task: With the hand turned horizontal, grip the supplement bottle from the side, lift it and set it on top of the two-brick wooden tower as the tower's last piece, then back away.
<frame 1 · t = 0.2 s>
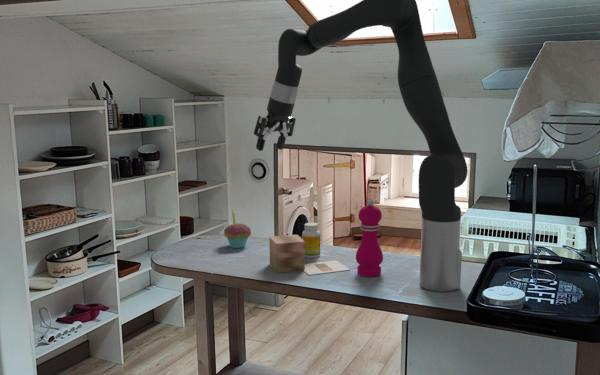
hand: (269, 149, 169), 31 cm above the counter, tool tilted 20°, fingers open, 8 cm apart
instruction page: (323, 267, 153), on the counter
tower: (287, 267, 154), on the counter
pepper mill: (369, 274, 148), on the counter
supplement bottle: (311, 256, 165), on the counter
cupcake: (237, 246, 176), on the counter
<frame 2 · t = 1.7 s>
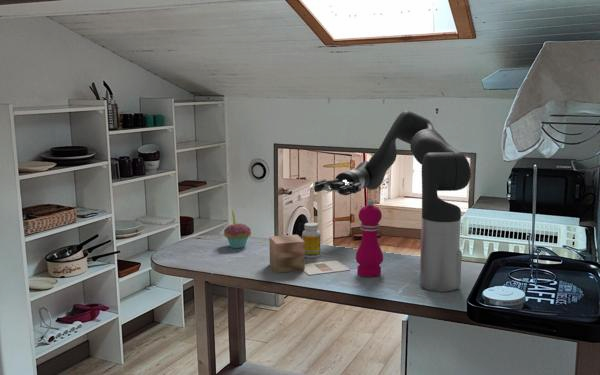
hand: (327, 189, 172), 18 cm above the counter, tool horizontal, fingers open, 8 cm apart
nothing on the counter moved.
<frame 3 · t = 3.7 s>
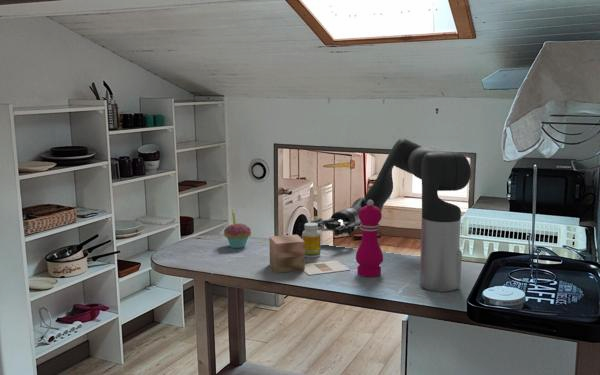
hand: (323, 230, 171), 6 cm above the counter, tool horizontal, fingers open, 8 cm apart
nothing on the counter moved.
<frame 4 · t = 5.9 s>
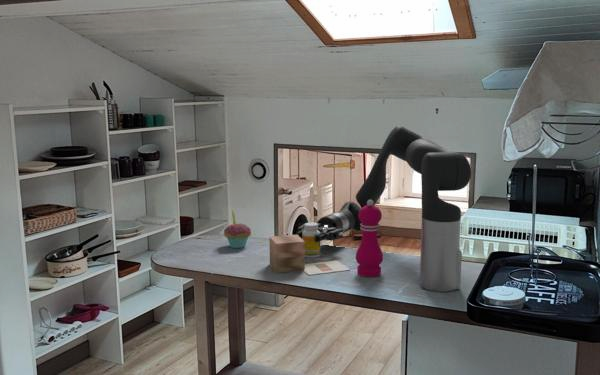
hand: (307, 237, 162), 6 cm above the counter, tool horizontal, fingers closed on supplement bottle, 5 cm apart
supplement bottle: (311, 256, 165), on the counter, touching gripper
everything else where it was.
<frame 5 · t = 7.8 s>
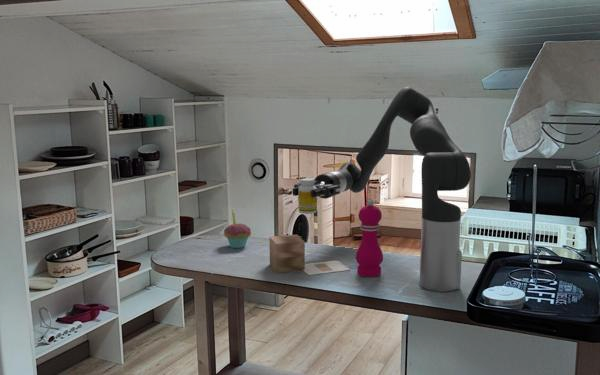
hand: (303, 193, 158), 20 cm above the counter, tool horizontal, fingers closed on supplement bottle, 5 cm apart
supplement bottle: (307, 212, 161), point 13 cm above the counter, touching gripper
everything else where it was.
when the fingers open (15 cm above the counter, at t = 9.7 s): supplement bottle drops 1 cm, resting on tower.
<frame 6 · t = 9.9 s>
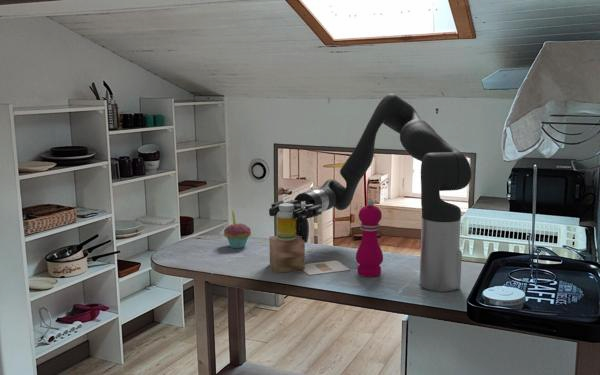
hand: (282, 213, 150), 15 cm above the counter, tool horizontal, fingers open, 6 cm apart
supplement bottle: (286, 239, 153), point 8 cm above the counter, touching tower
everything else where it was.
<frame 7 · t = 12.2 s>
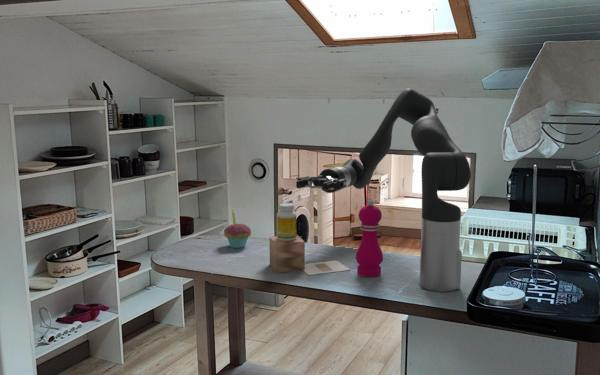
hand: (310, 185, 161), 21 cm above the counter, tool horizontal, fingers open, 8 cm apart
nothing on the counter moved.
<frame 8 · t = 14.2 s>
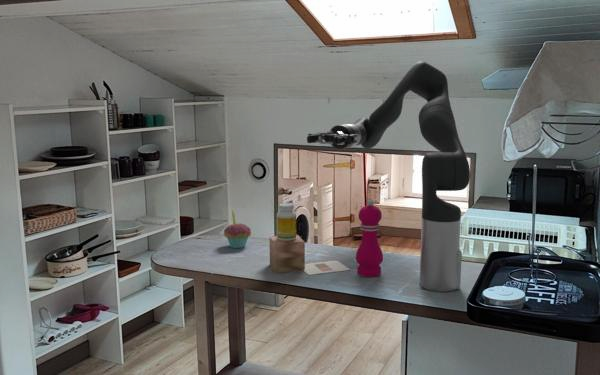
hand: (321, 140, 162), 34 cm above the counter, tool horizontal, fingers open, 8 cm apart
nothing on the counter moved.
at the end: supplement bottle inside the target area on the tower (0.2 cm from its centre), point 7.8 cm above the tower's base; supplement bottle tilted 0°; the gripper is holding nothing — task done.
